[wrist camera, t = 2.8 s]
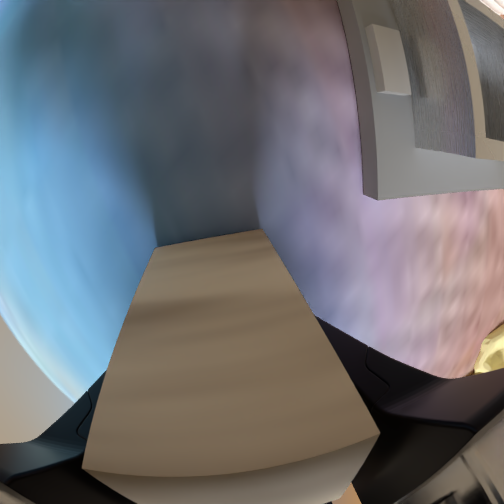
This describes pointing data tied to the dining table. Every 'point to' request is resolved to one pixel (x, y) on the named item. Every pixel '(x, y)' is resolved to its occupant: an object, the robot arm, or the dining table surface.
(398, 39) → the plate
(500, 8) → the white thick disc
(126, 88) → the dining table surface
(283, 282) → the wooden block
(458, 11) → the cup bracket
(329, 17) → the dining table surface
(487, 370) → the cloth
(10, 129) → the dining table surface
